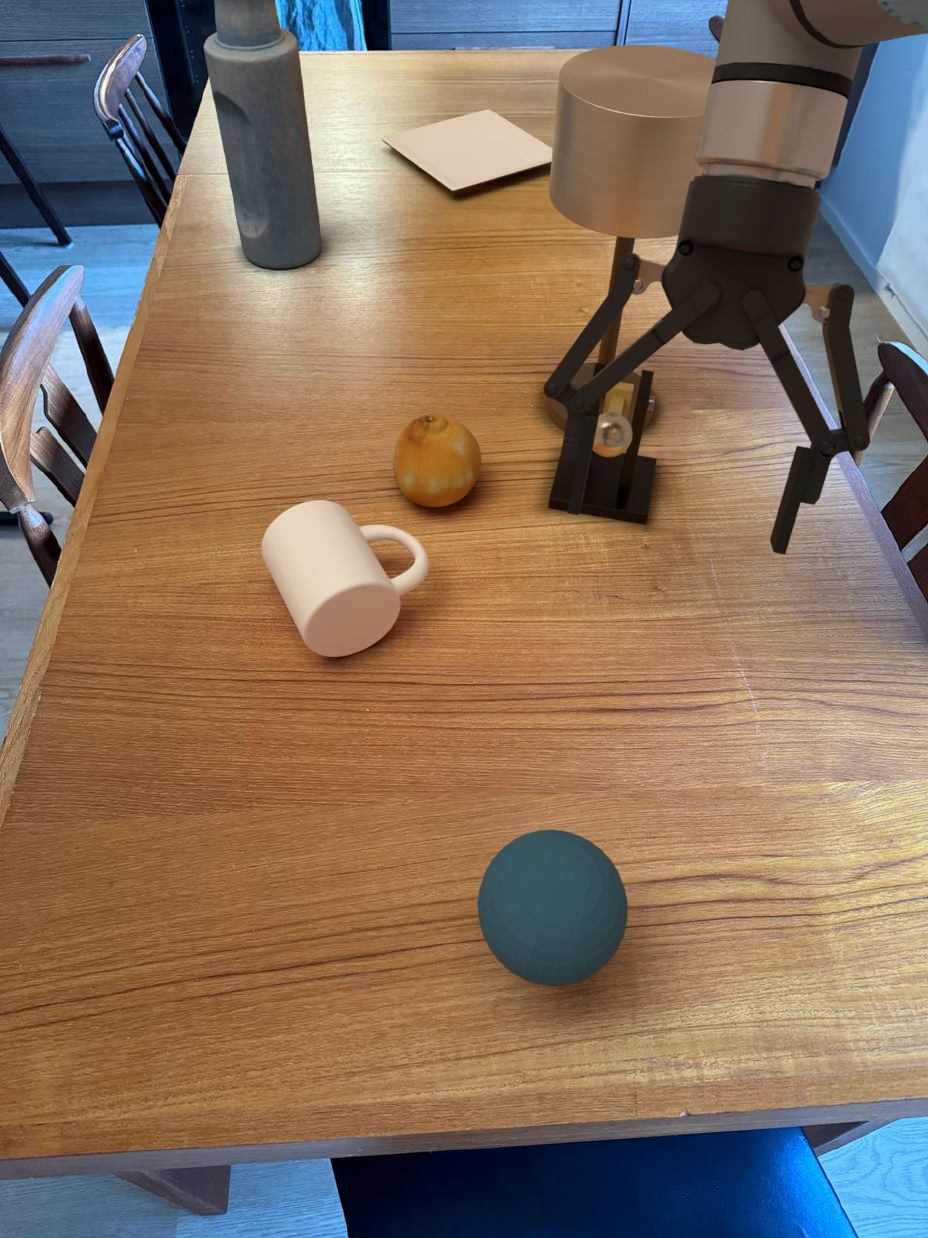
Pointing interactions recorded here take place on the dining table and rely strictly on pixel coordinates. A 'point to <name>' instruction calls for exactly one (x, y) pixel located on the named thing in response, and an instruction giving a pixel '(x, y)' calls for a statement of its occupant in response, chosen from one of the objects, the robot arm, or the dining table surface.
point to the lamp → (626, 157)
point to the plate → (470, 150)
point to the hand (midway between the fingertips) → (674, 528)
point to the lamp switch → (614, 422)
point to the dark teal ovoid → (552, 908)
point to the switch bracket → (614, 471)
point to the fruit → (436, 460)
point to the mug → (337, 576)
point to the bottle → (264, 133)
